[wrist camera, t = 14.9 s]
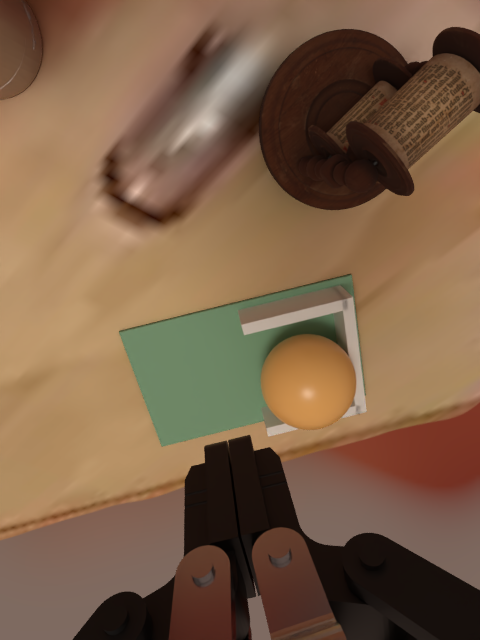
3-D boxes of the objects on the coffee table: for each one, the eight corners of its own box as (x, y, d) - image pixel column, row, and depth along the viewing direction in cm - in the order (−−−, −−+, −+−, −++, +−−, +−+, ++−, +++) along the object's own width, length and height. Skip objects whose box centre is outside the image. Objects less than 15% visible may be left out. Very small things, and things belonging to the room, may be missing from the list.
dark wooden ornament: (321, 236, 44) (414, 301, 26) (224, 123, 39) (253, 106, 21) (435, 130, 41) (630, 120, 23) (346, -6, 36) (505, -159, 18)
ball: (352, 457, 41) (362, 394, 49) (347, 372, 36) (360, 318, 45) (255, 443, 45) (280, 387, 53) (240, 364, 40) (270, 316, 48)
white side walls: (262, 415, 52) (268, 436, 48) (237, 310, 46) (241, 324, 42) (354, 392, 52) (366, 411, 48) (340, 284, 46) (353, 297, 42)
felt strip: (162, 444, 52) (161, 446, 52) (119, 331, 46) (119, 332, 45) (364, 393, 53) (365, 395, 52) (350, 274, 46) (351, 275, 46)
